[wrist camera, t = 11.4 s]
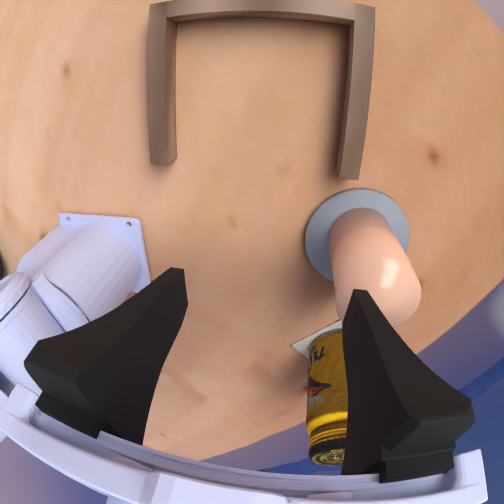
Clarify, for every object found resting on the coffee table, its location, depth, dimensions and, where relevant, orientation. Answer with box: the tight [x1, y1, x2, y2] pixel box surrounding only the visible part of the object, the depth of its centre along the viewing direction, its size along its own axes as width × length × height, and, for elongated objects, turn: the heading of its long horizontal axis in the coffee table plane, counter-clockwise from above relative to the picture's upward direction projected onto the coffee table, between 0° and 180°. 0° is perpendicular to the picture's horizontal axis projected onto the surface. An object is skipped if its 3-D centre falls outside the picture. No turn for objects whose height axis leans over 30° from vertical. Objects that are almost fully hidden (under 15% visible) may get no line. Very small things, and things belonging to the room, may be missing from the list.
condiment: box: [292, 320, 348, 466], centre depth 22 cm, size 7×8×12 cm
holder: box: [147, 0, 375, 181], centre depth 15 cm, size 13×11×2 cm
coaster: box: [305, 188, 409, 282], centre depth 21 cm, size 8×8×1 cm
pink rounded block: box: [328, 207, 421, 328], centre depth 18 cm, size 7×5×7 cm
